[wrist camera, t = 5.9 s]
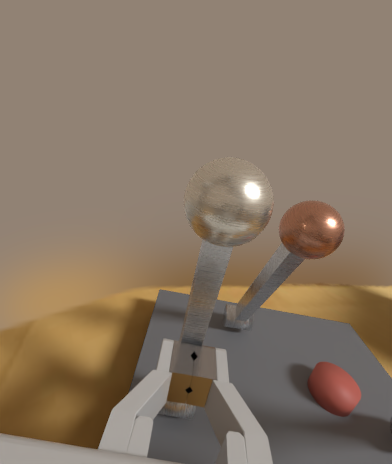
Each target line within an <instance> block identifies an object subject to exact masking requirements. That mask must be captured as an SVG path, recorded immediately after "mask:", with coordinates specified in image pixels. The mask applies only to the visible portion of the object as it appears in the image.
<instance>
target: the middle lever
mask: <svg viewBox="0 0 392 464" xmlns="http://www.w3.org/2000/svg"><path fill="white" fill-rule="evenodd" d="M279 235H280V239H281V241H282V243H281V245H280V246H279V248H278V249H277V250H276V252H275V253H274V254H273V256H272V257H271V258H270V260H269V261H268V263H267V264H266V265H265V267H264V268H263V270H262V271H261V273H260V274H259V275H258V277H257V278H256V279H255V280H254V282H253V283H252V285H251V286H250V287H249V289H248V290H247V291H246V293H245V294H244V296H243V297H242V298H241V300H240V301H239V302H238V304H237V305H236V306H235V305H229V304H226V306H225V309H224V314H223V325H224V326H225V327H231V328H236V329H242V330H248V331H250V330H251V329H252V327H253V323H254V313H255V312H256V310H257V309H258V308H259V307H260V306H261V305H262V304H263V303H264V302H265V301H266V300H267V299H268V298H269V297H270V296H271V295H272V293H273V292H274V291H275V290H276V289H277V288H278V287H279V286H280V285H281V284H282V283H283V282H284V281H285V280H286V279H287V278H288V276H289V275H290V274H291V273H292V272H293V271H294V270H295V269H296V268H297V267H298V266H299V265H300V264H301V263H302V262H303V260H304V259H319V258H323V257H325V256H328V255H330V254H331V253H333V252H334V251H335V250H336V249H337V248H338V247H339V245H340V244H341V242H342V240H343V237H344V223H343V220H342V218H341V216H340V214H339V213H338V212H337V211H336V210H335V209H334V208H333V207H331V206H330V205H328V204H326V203H323V202H320V201H304V202H301V203H298V204H296V205H294V206H292V207H291V208H290V209H288V210H287V211H286V213H285V214H284V215H283V217H282V219H281V222H280V226H279Z"/></svg>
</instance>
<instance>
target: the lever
mask: <svg viewBox="0 0 392 464" xmlns="http://www.w3.org/2000/svg"><path fill="white" fill-rule="evenodd" d="M273 201H274V199H273V191H272V188H271V185H270V183H269V181H268V179H267V177H266V176H265V174H264V173H263V172H262V171H261V170H260V169H259V168H258V167H256V166H255V165H254V164H252V163H250V162H248V161H246V160H243V159H240V158H234V157H226V158H219V159H215V160H213V161H210V162H208V163H207V164H205V165H203V166H202V167H201V168H200V169H198V170H197V172H196V173H195V174H194V175H193V176H192V178H191V179H190V181H189V183H188V185H187V188H186V191H185V195H184V210H185V215H186V218H187V221H188V223H189V224H190V227H191V228H192V229H193V231H194V232H195V233H196V234H197V235H198V236H199V237H200V238H202V239H203V240H202V245H201V249H200V253H199V258H198V262H197V266H196V271H195V275H194V280H193V283H192V288H191V292H190V296H189V301H188V305H187V309H186V313H185V318H184V322H183V326H182V331H181V335H180V339H179V341H181V342H186V343H190V344H197V345H202V344H203V341H204V338H205V335H206V332H207V328H208V325H209V322H210V319H211V316H212V313H213V309H214V306H215V303H216V300H217V297H218V294H219V290H220V287H221V284H222V281H223V278H224V275H225V271H226V268H227V265H228V262H229V258H230V255H231V252H232V249H233V247H234V246H240V245H243V244H245V243H247V242H250V241H251V240H253V239H254V238H256V237H257V236H258V235H259V234H260V233H261V232H262V231H263V230H264V228H265V227H266V226H267V224H268V222H269V220H270V218H271V215H272V211H273V205H274V202H273ZM195 409H196V406H194V405H189V404H186V403H185V404H184V403H177V402H169V401H166V403H165V405H164V406H163V407H162V409H161V410H160V411H159V413H158V414H162V415H168V416H174V417H180V418H187V419H193V418H194V414H195Z"/></svg>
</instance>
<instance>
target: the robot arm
mask: <svg viewBox="0 0 392 464" xmlns="http://www.w3.org/2000/svg"><path fill="white" fill-rule="evenodd" d="M166 401H169V402H177V403H184V404H185V403H186V404H189V405H194V406H199V407H204V409H205V412H206V414H207V416H208V418H209V421H210V423H211V425H212V428H213V430H214V432H215V435H216V437H217V439H218V442H219V444H220V446H221V449H220V451H219V454H218V456H217V459H216V461H215V464H273V461H272V456H271V451H270V446H269V441H268V436H267V435H266V433H265V432H264V430H263V429H262V427H261V426H260V424H259V423H258V421H257V420H256V418H255V417H254V415H253V414H252V412H251V411H250V409H249V408H248V406H247V405H246V403H245V402H244V400H243V399H242V397H241V396H240V394H239V393H238V391H237V390H236V388H235V387H234V385H233V384H232V383H229V375H228V364H227V352H226V350H225V349H220V348H215V347H209V346H203V345H197V344H190V343H186V342H181V341H176V340H170V339H165V338H164V339H163V341H162V346H161V350H160V355H159V359H158V363H157V368H156V370H152V371H151V372H150V373H149V374H148V375H147V376H146V377H145V378H144V379H143V380H142V381H141V382H140V383H139V384H138V385H137V386H136V387H134V388H133V389H132V390H131V391H130V392H129V393H128V394H127V395H126V396H125V397H124V398H123V399H122V400H121V401H120V402H119V403H118V404H117V405H116V406H115V407H114V408H113V409H112V411H111V414H110V417H109V419H108V422H107V425H106V428H105V430H104V433H103V436H102V439H101V442H100V444H99V447H98V449H93V448H87V447H81V446H75V445H69V444H63V443H57V442H51V441H45V440H39V439H33V438H27V437H21V436H15V435H9V434H3V433H0V464H183V463H177V462H171V461H165V460H159V459H153V458H147V454H148V449H149V443H150V438H151V432H152V427H153V419H154V418H155V417H156V415H157V414H158V413H159V411H160V410H161V409H162V407H163V406H164V405H165V403H166Z"/></svg>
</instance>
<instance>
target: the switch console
mask: <svg viewBox="0 0 392 464" xmlns="http://www.w3.org/2000/svg"><path fill="white" fill-rule="evenodd" d="M189 296H190V295H188V294H182V293H177V292H171V291H166V290H159V294H158V297H157V300H156V304H155V307H154V310H153V314H152V317H151V320H150V323H149V327H148V330H147V333H146V337H145V340H144V343H143V347H142V350H141V353H140V357H139V360H138V363H137V366H136V370H135V373H134V376H133V380H132V383H131V386H130V390H129V392H130V391H131V390H132V389H133V388H134V387H136V386H137V385H138V384H139V383H140V382H141V381H142V380H143V379H144V378H145V377H146V376H147V375H148V374H149V373H150V372H151V371H152V370H156V368H157V363H158V359H159V355H160V350H161V346H162V341H163V339H164V338H165V339H170V340H176V341H179V339H180V335H181V331H182V326H183V322H184V318H185V313H186V309H187V305H188V301H189ZM226 304H229V305H235V306H236V305H237V303H232V302H226V301H221V300H216V303H215V306H214V309H213V313H212V316H211V319H210V322H209V325H208V328H207V332H206V335H205V338H204V341H203V344H202V345H203V346H209V347H215V348H220V349H225V350H226V352H227V364H228V375H229V383H232V384H233V385H234V387H235V388H236V390H237V391H238V393H239V394H240V396H241V397H242V399H243V400H244V402H245V403H246V405H247V406H248V408H249V409H250V411H251V412H252V414H253V415H254V417H255V418H256V420H257V421H258V423H259V424H260V426H261V427H262V429H263V430H264V432H265V433H266V435H267V436H268V441H269V446H270V451H271V456H272V461H273V464H392V433H391V430H390V419H391V417H392V378H391V377H390V376H389V375H388V373H387V372H386V371H385V369H384V368H383V367H382V365H381V364H380V363H379V362H378V360H377V359H376V358H375V356H374V355H373V354H372V353H371V351H370V350H369V349H368V347H367V346H366V345H365V343H364V342H363V341H362V340H361V338H360V337H359V336H358V334H357V333H356V332H355V330H354V329H353V328H352V327H351V325H350V324H348V323H342V322H337V321H331V320H326V319H320V318H315V317H309V316H304V315H298V314H293V313H287V312H282V311H276V310H271V309H265V308H260V307H259V308H258V309H257V310H256V312H255V313H254V323H253V327H252V329H251V330H250V331H248V330H242V329H236V328H231V327H225V326H224V325H223V314H224V309H225V306H226ZM220 449H221V446H220V444H219V442H218V439H217V437H216V435H215V432H214V430H213V428H212V425H211V423H210V421H209V418H208V416H207V414H206V412H205V409H204V407H199V406H196V409H195V414H194V418H193V419H187V418H180V417H174V416H168V415H162V414H157V415H156V417H155V418H154V419H153V427H152V432H151V438H150V443H149V449H148V454H147V458H153V459H159V460H165V461H171V462H177V463H183V464H215V461H216V459H217V456H218V454H219V451H220Z"/></svg>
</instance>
